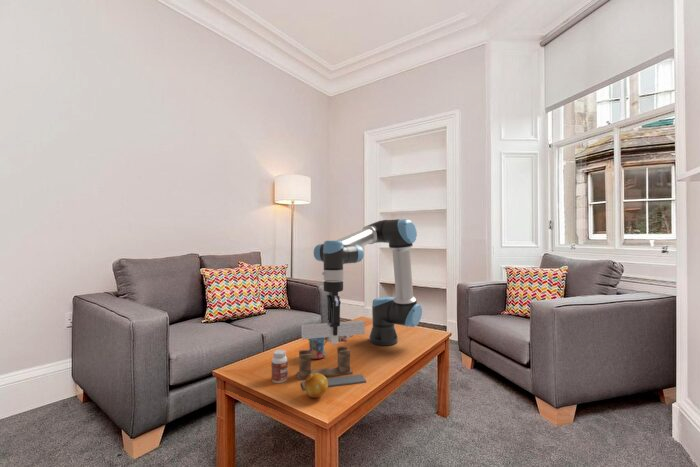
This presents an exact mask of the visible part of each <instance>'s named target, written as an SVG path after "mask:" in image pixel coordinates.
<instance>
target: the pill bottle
mask: <svg viewBox="0 0 700 467" xmlns="http://www.w3.org/2000/svg"><path fill="white" fill-rule="evenodd" d="M286 354H287V353H286V350H284V349H277V350H274V351H273V357H272V358H271V381H272V383H274V384H282V383H285V382H286V381H288V378H289V375H288V374H289V373H288V370H289V368H288V367H289V365H288V364H289V363H288V360H289V359H288V357H287V356H286Z"/></svg>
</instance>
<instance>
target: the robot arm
mask: <svg viewBox="0 0 700 467" xmlns="http://www.w3.org/2000/svg"><path fill="white" fill-rule="evenodd" d="M416 228H417V227H416V225H415V224H414V222H413V221H412V220H410V219H403V218H398V219H381V220H377V221H375V222H373V223H370V224H368V225H366V226H364V227H362V229H360V230H359V231H356V232H353V233H351V234H348V235H346V236H343V237H340V238H338V239H335V240H325V241H324V242H323V243H321V244H317V245H315V247H314V248H313V257H314V259H315V260H316V261H318V262H322V263H323V271H322V273H321V274H322V275H323V280H324V281H323V291H324V292H326V293H328V294H326V300H327V321H328V323H332V325H330V327H331V337H329V339H328V341H329V342H330V344H331V345H335V344H336V345H337V344H339V341H338V326H340V322H341V321H340V320H341V302H342V301H341V298H340V295H339V292H343V291H344V281H343V280H344V265H347V264H357V263H360V262H361V261H363V258H364V256H365V252H364V249H363V247H364V246H366V245H374V244H376V243H384V244H386V243H387V244H388V247H389V249H390V250H392V261H393V262H392V263H393V275H394V286H395V287H394V288H395V297H393V296H381V297H377V298H374V299H373V300H372V305H371V306H372V307H371V308H372V314H371V316H372V321H371V322H372V327H371V330H370V333H369V338H368V339H369V340H368V341H369V343H371V344H374V345H377V346H392V345H396V344H397V343H398V342H399V338H398V333H397V331H396V328H395V325H398V326H403V327H405V328H408V327H409V328H414V327H416V326H418V325H419V323H420V322H421V319H422V314H423V307H422V305H421V304H419V303H418V302H417V301H418V300H417V298H416V297H415V296H414V290H413V286H414V285H413V276H412V263H411V248H412V247H413V244H414V243H415V242H416V241H417V233H418V232H417V229H416Z"/></svg>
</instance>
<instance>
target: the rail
mask: <svg viewBox="0 0 700 467" xmlns="http://www.w3.org/2000/svg"><path fill="white" fill-rule="evenodd" d="M365 324H366V323H365V321H364V320H350V321H347V320H346V321H340V326H338V336H346V335H354V336H355V335H357V336H358V335H365V332H366V331H365V330H366V328H365ZM330 325H332V323H329V322H322V323H311V324H309V323H308V324H301V339H302V340H308V339H311V338H323V337H325V338H327V337H331V327H330Z"/></svg>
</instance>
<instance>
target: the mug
mask: <svg viewBox="0 0 700 467" xmlns="http://www.w3.org/2000/svg"><path fill="white" fill-rule="evenodd" d="M307 340H308V344H309V345H308V346H309V348H308V350H309V354H311V360H312V359H313V360H319V359H322V358H324V357H325V358H326V356H327V353H326V350H325V345H326V343H327V342H328V341H329V339H328V337H323V338H311V339H307Z"/></svg>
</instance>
